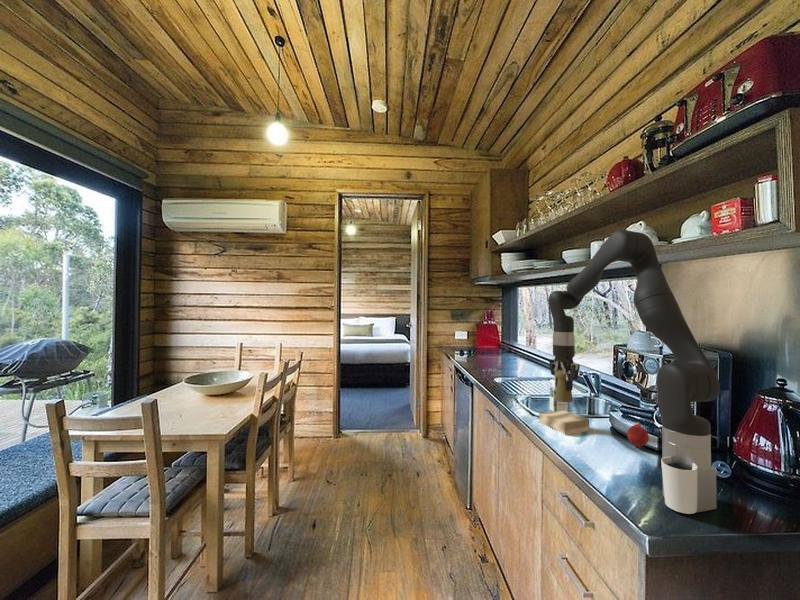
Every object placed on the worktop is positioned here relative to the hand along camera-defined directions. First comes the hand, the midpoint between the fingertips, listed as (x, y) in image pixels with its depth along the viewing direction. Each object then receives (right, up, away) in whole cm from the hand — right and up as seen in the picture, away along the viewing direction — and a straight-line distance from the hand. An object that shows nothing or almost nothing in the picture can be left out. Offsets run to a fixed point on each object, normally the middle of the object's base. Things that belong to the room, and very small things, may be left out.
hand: (563, 388), depth 132 cm
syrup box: (+6, -15, +17) cm, 24 cm away
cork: (0, -4, 0) cm, 4 cm away
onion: (+16, -15, -18) cm, 28 cm away
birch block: (0, -15, 0) cm, 15 cm away
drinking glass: (+4, -15, -51) cm, 53 cm away
